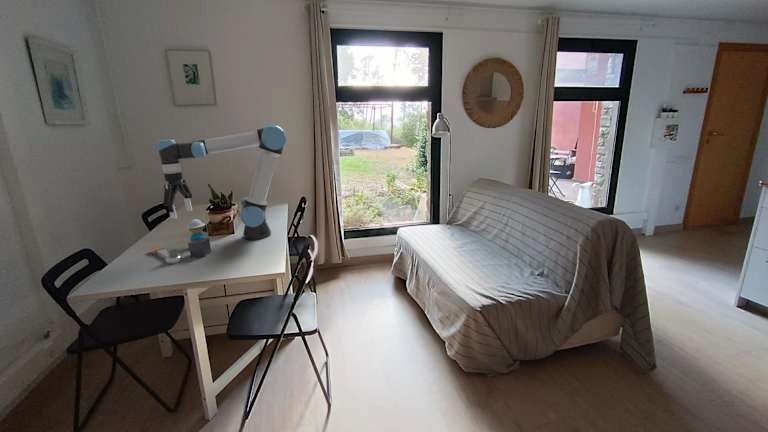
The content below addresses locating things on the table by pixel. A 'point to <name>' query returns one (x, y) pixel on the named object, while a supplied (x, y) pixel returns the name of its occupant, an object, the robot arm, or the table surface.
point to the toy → (197, 229)
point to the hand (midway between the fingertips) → (182, 214)
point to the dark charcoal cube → (199, 247)
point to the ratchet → (167, 254)
